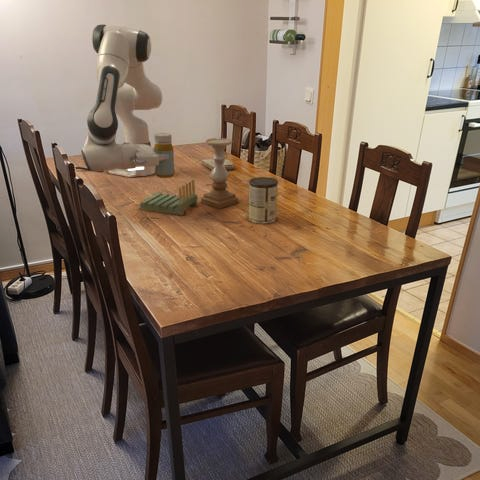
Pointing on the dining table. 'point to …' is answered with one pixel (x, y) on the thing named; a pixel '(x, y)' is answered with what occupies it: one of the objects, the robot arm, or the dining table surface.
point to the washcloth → (211, 164)
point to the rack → (171, 201)
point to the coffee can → (262, 199)
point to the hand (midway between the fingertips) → (166, 154)
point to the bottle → (164, 147)
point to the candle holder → (219, 177)
